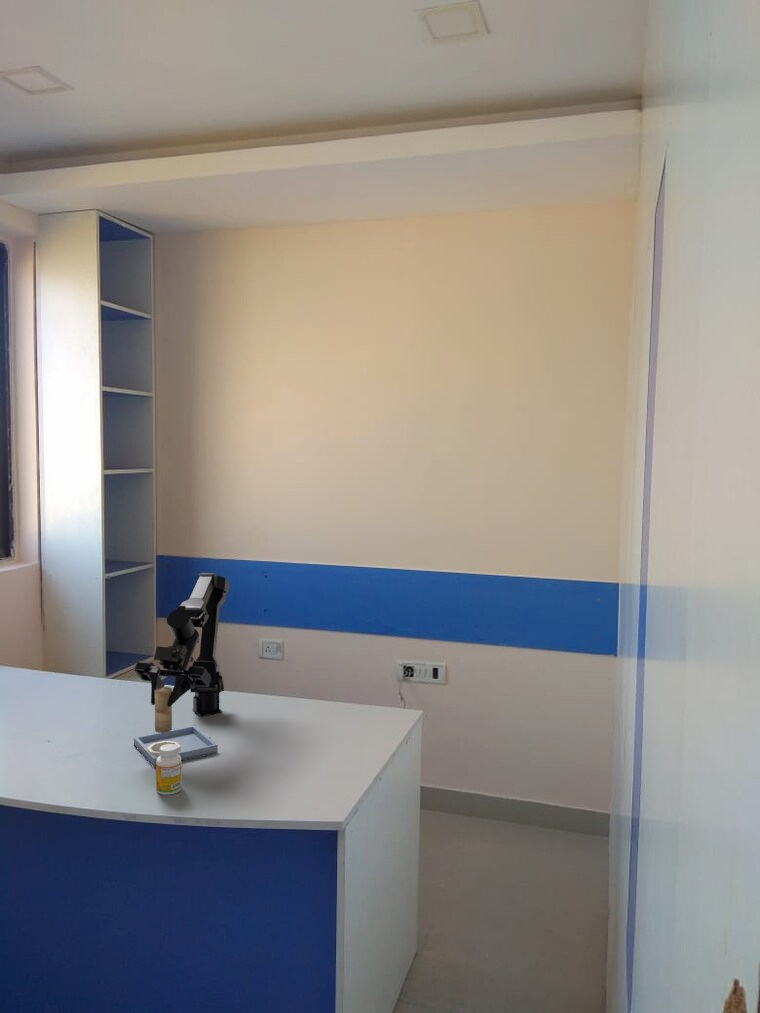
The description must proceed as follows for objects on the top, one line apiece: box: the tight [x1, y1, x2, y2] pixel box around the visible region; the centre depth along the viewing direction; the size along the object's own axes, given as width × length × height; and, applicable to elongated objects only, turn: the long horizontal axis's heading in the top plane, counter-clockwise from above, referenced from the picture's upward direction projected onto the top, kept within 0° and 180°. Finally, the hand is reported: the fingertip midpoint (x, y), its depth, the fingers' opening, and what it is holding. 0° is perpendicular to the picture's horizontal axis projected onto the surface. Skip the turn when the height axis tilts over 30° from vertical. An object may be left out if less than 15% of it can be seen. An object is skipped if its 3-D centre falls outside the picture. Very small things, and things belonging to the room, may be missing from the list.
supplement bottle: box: [155, 744, 183, 796], centre depth 168 cm, size 5×5×10 cm
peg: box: [154, 686, 173, 733], centre depth 185 cm, size 4×4×10 cm
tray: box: [133, 725, 219, 767], centre depth 191 cm, size 16×16×2 cm
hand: (160, 705), depth 184 cm, fingers closed on peg, 4 cm apart
